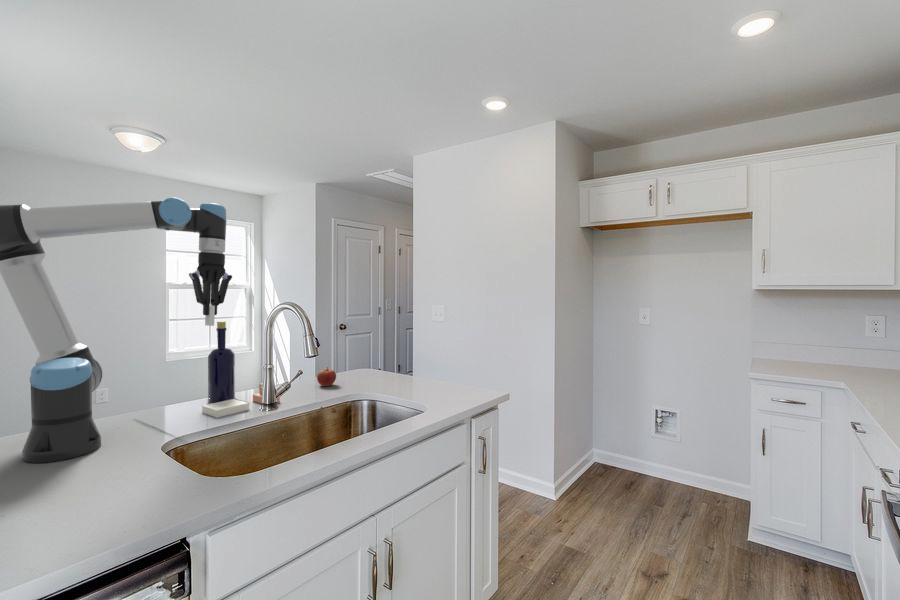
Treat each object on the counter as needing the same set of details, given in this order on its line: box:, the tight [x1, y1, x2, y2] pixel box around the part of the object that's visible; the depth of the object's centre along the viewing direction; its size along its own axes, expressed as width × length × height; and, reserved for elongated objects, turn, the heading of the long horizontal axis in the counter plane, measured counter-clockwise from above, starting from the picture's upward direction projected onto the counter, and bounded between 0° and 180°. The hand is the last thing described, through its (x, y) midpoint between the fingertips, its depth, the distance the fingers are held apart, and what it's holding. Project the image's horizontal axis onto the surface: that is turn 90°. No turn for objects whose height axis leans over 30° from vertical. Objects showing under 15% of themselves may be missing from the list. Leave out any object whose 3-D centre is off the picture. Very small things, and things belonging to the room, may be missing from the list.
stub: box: [252, 383, 281, 405], centre depth 157 cm, size 5×9×6 cm, turn 55°
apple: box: [316, 367, 337, 387], centre depth 188 cm, size 8×8×8 cm
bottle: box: [207, 320, 236, 404], centre depth 158 cm, size 9×9×30 cm
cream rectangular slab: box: [201, 397, 250, 418], centre depth 145 cm, size 11×9×2 cm
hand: (209, 325), depth 140 cm, fingers closed
